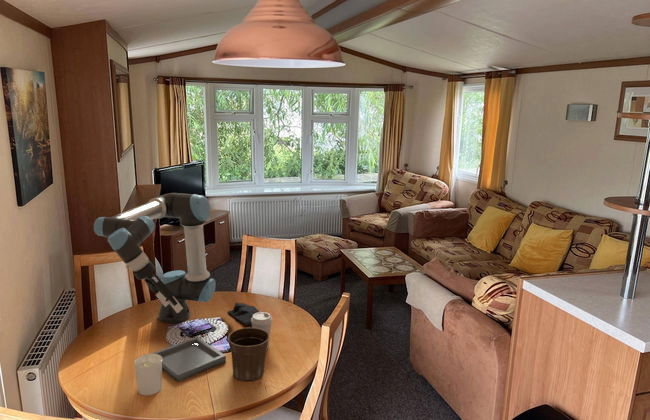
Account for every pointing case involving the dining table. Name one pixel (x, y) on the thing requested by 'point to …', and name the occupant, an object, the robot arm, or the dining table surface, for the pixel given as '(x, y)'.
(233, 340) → the plant pot
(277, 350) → the dining table surface
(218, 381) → the dining table surface
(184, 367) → the tray
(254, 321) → the coffee cup
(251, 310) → the dark grey crumpled cloth
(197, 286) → the robot arm
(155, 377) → the candle holder
